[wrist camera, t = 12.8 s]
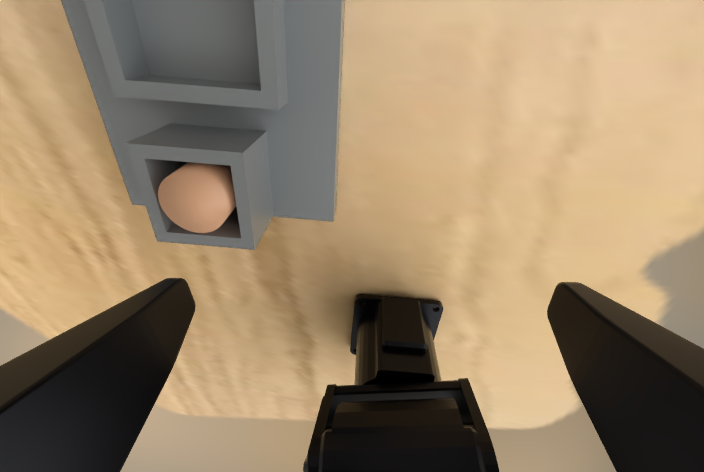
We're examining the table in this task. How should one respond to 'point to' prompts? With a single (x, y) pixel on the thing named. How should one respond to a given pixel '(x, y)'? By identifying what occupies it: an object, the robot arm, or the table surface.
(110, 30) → the housing
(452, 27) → the table surface
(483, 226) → the table surface
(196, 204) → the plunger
